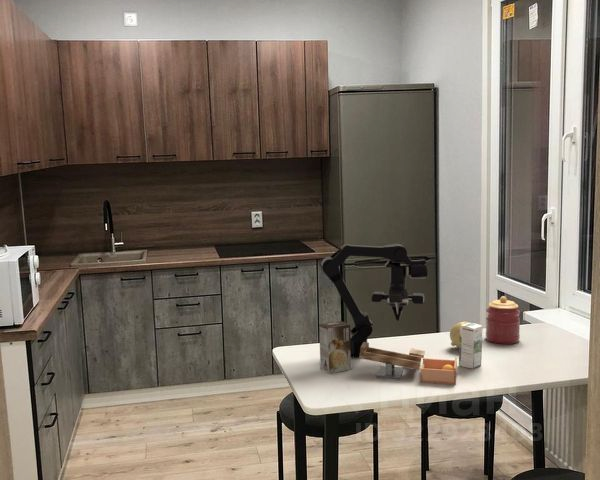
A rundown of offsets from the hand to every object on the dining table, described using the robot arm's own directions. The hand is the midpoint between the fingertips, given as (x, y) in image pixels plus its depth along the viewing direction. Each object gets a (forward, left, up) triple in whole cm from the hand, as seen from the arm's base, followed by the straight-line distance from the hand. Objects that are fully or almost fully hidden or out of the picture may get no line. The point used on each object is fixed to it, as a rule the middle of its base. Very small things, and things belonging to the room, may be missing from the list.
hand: (397, 320), depth 236 cm
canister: (+38, +28, -13) cm, 49 cm away
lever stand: (0, -22, -13) cm, 26 cm away
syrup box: (+26, -7, -13) cm, 30 cm away
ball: (+19, -22, -10) cm, 31 cm away
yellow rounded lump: (+24, +13, -13) cm, 30 cm away
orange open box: (+16, -22, -13) cm, 30 cm away
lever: (0, -17, -9) cm, 19 cm away
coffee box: (-19, -21, -13) cm, 31 cm away
